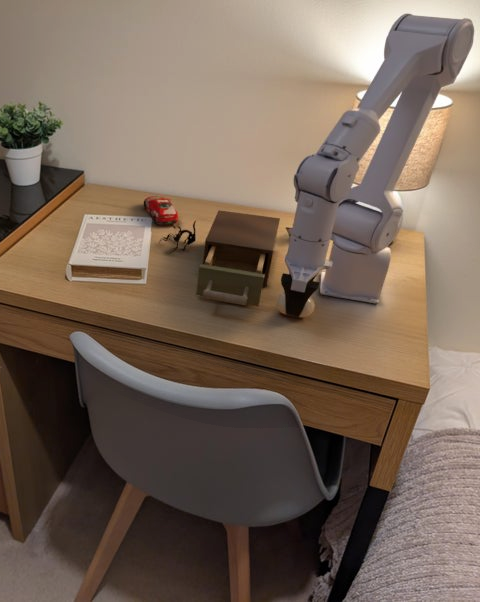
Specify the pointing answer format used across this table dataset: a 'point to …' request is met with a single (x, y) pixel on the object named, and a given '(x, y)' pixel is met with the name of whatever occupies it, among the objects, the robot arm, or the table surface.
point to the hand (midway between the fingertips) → (294, 307)
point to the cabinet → (244, 235)
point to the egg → (306, 311)
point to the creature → (190, 239)
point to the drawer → (232, 276)
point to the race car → (161, 210)
